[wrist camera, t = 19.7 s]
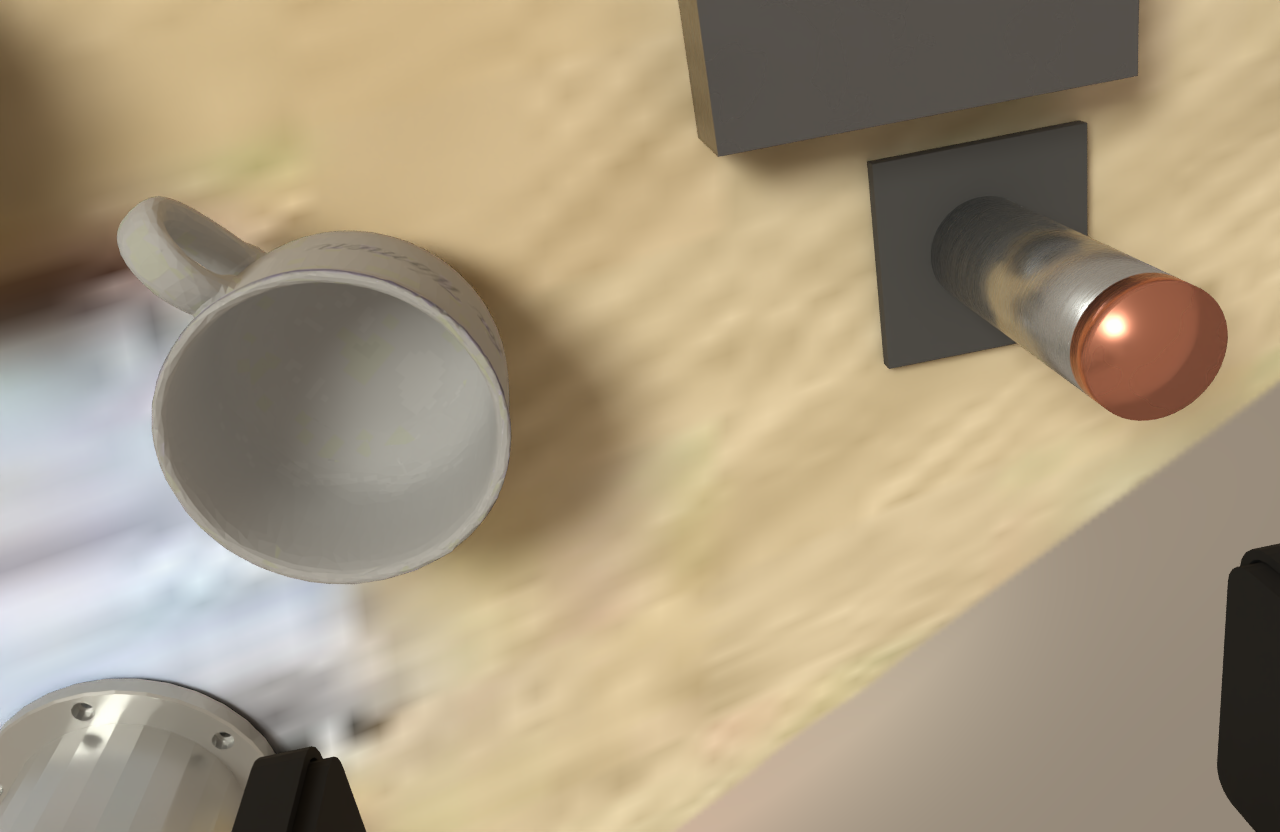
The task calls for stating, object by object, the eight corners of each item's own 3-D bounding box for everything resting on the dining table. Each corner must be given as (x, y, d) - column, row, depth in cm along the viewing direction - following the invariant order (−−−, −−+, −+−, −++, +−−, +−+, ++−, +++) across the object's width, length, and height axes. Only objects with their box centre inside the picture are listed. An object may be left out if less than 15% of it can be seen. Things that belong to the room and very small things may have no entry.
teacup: (562, 400, 42) (574, 495, 35) (323, 530, 43) (286, 648, 36) (358, 70, 37) (320, 98, 29) (90, 226, 38) (-11, 292, 30)
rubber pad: (1080, 324, 43) (1087, 328, 43) (884, 363, 43) (888, 368, 42) (1079, 120, 40) (1086, 122, 39) (867, 161, 40) (872, 164, 39)
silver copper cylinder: (1032, 186, 40) (1230, 268, 29) (1035, 289, 42) (1225, 404, 31) (927, 207, 40) (1085, 298, 29) (934, 310, 42) (1088, 433, 31)
